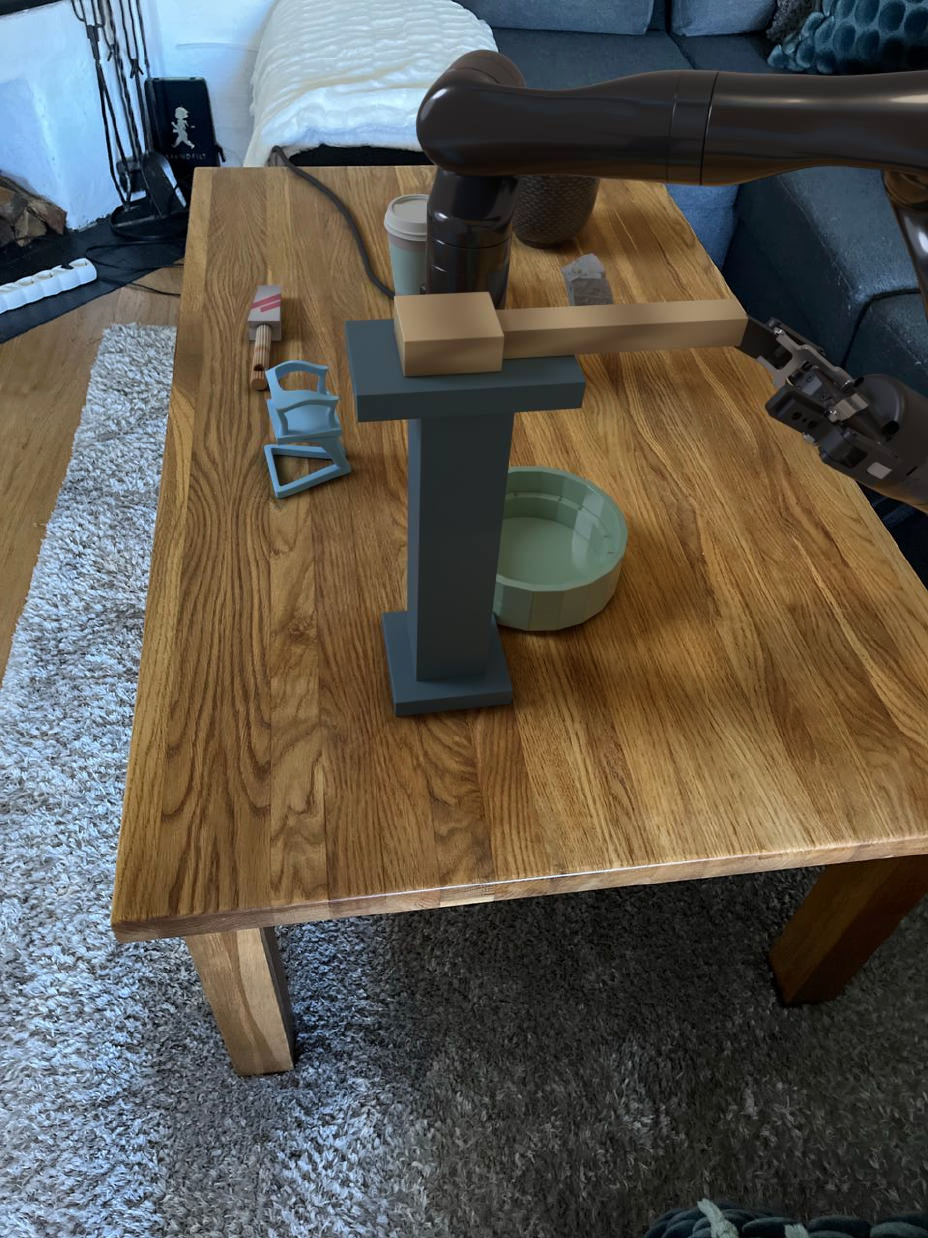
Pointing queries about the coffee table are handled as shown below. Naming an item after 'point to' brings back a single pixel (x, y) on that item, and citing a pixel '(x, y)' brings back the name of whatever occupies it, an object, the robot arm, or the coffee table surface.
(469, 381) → the lectern stand
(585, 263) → the mineral specimen
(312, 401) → the chair
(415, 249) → the coffee cup
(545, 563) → the bowl
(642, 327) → the wooden mallet
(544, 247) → the planter
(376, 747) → the coffee table surface
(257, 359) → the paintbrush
